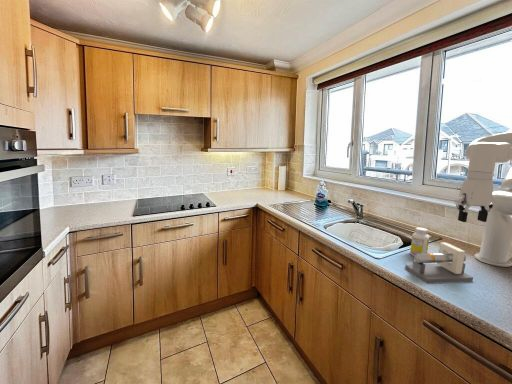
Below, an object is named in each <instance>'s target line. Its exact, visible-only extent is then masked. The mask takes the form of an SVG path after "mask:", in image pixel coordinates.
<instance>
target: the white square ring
mask: <svg viewBox="0 0 512 384" xmlns="http://www.w3.org/2000/svg"><path fill="white" fill-rule="evenodd" d="M438 253H452V254H454V255H453V261H452V262H443V263H436V264H439V265H441V266H443V267H444V268H446V269H448V270H450V271H451V272H453V273H455V274H461V272H462V266H463V263H464V262H465V261H464V255H465V256H466V254H465V253H466V251H465V250H463V249H461V248H459V247H457V246H455V245H453V244H450V243H448V242H440V243H439V247H438ZM463 261H464V262H463Z"/></svg>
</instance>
